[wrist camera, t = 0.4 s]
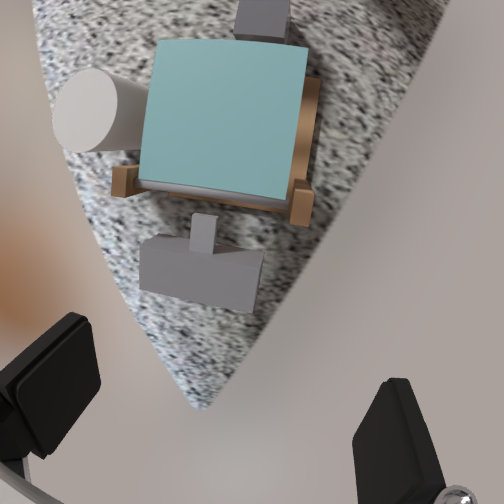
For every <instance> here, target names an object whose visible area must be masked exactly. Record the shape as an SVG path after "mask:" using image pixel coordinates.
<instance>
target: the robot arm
mask: <svg viewBox="0 0 504 504" xmlns="http://www.w3.org/2000/svg"><path fill="white" fill-rule="evenodd" d="M100 386H101V379H100V374H99V369H98V364H97V358H96V353H95V347H94V341H93V334H92V327H91V324H90V323H89V322H88V319H87V318H86V317H85V316H83V315H80V314H76V313H74V312H70V313H68V314H67V315H66V316H64V317H63V318H62V319H61V320H60V321H58V322H57V323H56V324H55V325H53V326H52V327H51V328H50V329H49V330H47V331H46V332H45V333H44V334H43V335H41V336H40V337H39V338H38V339H37V340H35V341H34V342H33V343H32V344H31V345H30V346H29V347H27V348H26V349H25V350H24V351H23V352H22V353H20V354H19V355H18V356H17V357H16V358H15V359H14V360H13V361H11V363H9V364H8V365H7V366H6V367H5V368H4V369H3V370H2V371H0V504H64V503H62V502H60V501H59V500H57V499H55V498H53V497H52V496H50V495H48V494H47V493H45V492H43V491H42V490H40V489H39V488H37V487H35V486H34V485H32V484H31V478H30V473H29V465H28V458H27V455H28V454H29V453H30V451H31V452H32V453H33V454H35V455H37V456H38V457H40V458H41V459H43V460H44V459H45V457H46V456H47V455H51V454H52V453H53V452H54V451H55V449H56V448H57V447H58V445H59V444H60V442H61V441H62V440H63V438H64V437H65V436H66V434H67V433H68V431H69V430H70V429H71V427H72V426H73V425H74V423H75V422H76V420H77V419H78V418H79V416H80V415H81V414H82V412H83V411H84V410H85V408H86V407H87V406H88V404H89V403H90V402H91V400H92V399H93V397H94V396H95V395H96V394H97V392H98V391H99V389H100ZM352 447H353V456H354V465H355V474H356V485H357V496H358V504H477V500H476V498H475V495H474V494H473V493H472V492H471V491H470V490H469V489H467V488H465V487H462V486H457V485H453V486H450V487H446V484H445V480H444V477H443V473H442V470H441V467H440V464H439V461H438V458H437V455H436V452H435V448H434V446H433V442H432V440H431V437H430V434H429V431H428V428H427V425H426V423H425V421H424V419H423V416H422V413H421V411H420V408H419V405H418V403H417V400H416V397H415V395H414V392H413V390H412V387H411V385H410V382H409V381H408V379H406V378H389V379H388V381H387V382H383V383H382V384H381V386H380V388H379V390H378V392H377V394H376V396H375V398H374V400H373V402H372V404H371V406H370V408H369V410H368V411H367V413H366V415H365V417H364V419H363V420H362V422H361V424H360V426H359V428H358V429H357V431H356V433H355V435H354V437H353V441H352Z"/></svg>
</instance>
